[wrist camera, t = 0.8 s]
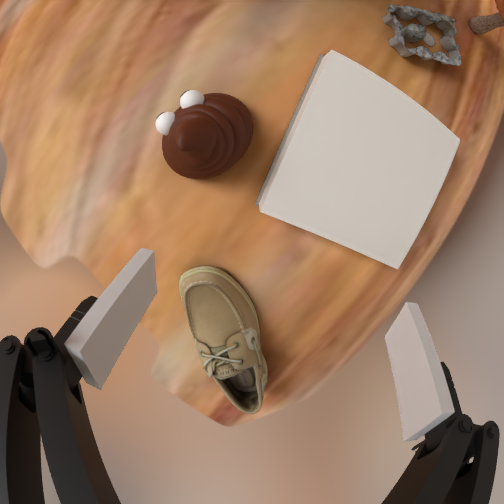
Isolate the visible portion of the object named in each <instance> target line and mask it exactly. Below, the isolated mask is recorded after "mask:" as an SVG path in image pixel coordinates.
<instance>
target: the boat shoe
mask: <svg viewBox="0 0 504 504" xmlns="http://www.w3.org/2000/svg"><path fill="white" fill-rule="evenodd" d="M179 290H180V296H181V300H182V303H183V306H184V310H185V312H186V315H187V318H188V322H189V326H190V329H191V332H192V334H193V337H194V341H195V344H196V348H197V351H198V354H199V356H200V358H201V361H202V363H203V369H205V371H206V373H207V375H208V377H213V378H214V380H215V381H216V383H217V384H218V386H219V387H220V388H221V390H222V391H223V392H224V393H225V395H226V396H227V398H228V399H229V400H230V401H231V402H232V404H233V405H234V406H235V407H236V408H237V409H239V410H240V411H242V412H244V413H247V414H254V413H257V412H258V411H259V410H260V408H261V406H262V401H263V397H264V389H265V386H266V384H267V373H268V370H267V364H266V360H265V358H264V355H263V353H262V350H261V343H260V329H259V323H258V317H257V313H256V310H255V307H254V305H253V303H252V301H251V299H250V298H249V296H248V295H247V293H246V292H245V291H244V289H243V288H242V287H241V286H240V285H239V284H238V283H237V282H236V281H235V280H234V279H233V278H232V277H231V276H230V275H228V274H227V273H226V272H224V271H223V270H221V269H219V268H216V267H213V266H198V267H194V268H191V269H189V270H187V271H186V272H185V273H183V275H182V276H181V278H180V282H179Z"/></svg>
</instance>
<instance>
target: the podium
mask: <svg viewBox="0 0 504 504" xmlns="http://www.w3.org/2000/svg"><path fill="white" fill-rule="evenodd" d="M459 142H460V139H459V138H458V137H457V136H456V135H455V134H454V133H452V132H451V131H450V130H449V129H448V128H447V127H446V126H445V125H444V124H442V123H441V122H440V121H439V120H438V119H437V118H435V117H434V116H433V115H432V114H431V113H429V112H428V111H427V110H426V109H424V108H423V107H422V106H421V105H419V104H418V103H417V102H415V101H414V100H413V99H411V98H410V97H409V96H407V95H406V94H405V93H403V92H402V91H400V90H399V89H398V88H396V87H395V86H393V85H392V84H390V83H389V82H387V81H386V80H384V79H383V78H381V77H380V76H378V75H376V74H375V73H373V72H372V71H370V70H368V69H367V68H365V67H363V66H361V65H360V64H358V63H356V62H354V61H353V60H351V59H349V58H347V57H345V56H343V55H342V54H340V53H338V52H336V51H334V50H331V51H329V52H328V53H327V54H326V55H323V54H321V55H320V56H319V59H318V61H317V63H316V65H315V67H314V70H313V72H312V74H311V76H310V78H309V81H308V83H307V85H306V87H305V89H304V92H303V94H302V96H301V98H300V101H299V103H298V105H297V107H296V110H295V112H294V114H293V116H292V119H291V121H290V123H289V125H288V128H287V130H286V132H285V135H284V137H283V139H282V141H281V144H280V146H279V148H278V151H277V153H276V155H275V158H274V160H273V162H272V164H271V167H270V169H269V171H268V174H267V176H266V178H265V181H264V183H263V185H262V188H261V190H260V192H259V195H258V197H257V200H256V202H255V205H257V206H259V208H260V212H262V213H264V214H267V215H269V216H272V217H274V218H277V219H279V220H282V221H285V222H287V223H290V224H292V225H295V226H297V227H300V228H302V229H304V230H307V231H309V232H312V233H314V234H317V235H319V236H321V237H324V238H326V239H329V240H331V241H333V242H336V243H338V244H341V245H343V246H345V247H348V248H350V249H352V250H355V251H357V252H359V253H361V254H364V255H366V256H368V257H371V258H373V259H375V260H377V261H380V262H382V263H384V264H386V265H388V266H391V267H393V268H395V269H397V270H398V268H399V266H400V265H401V263H402V261H403V260H404V258H405V256H406V255H407V253H408V251H409V249H410V248H411V246H412V244H413V242H414V241H415V239H416V237H417V235H418V233H419V231H420V229H421V228H422V226H423V224H424V222H425V220H426V218H427V216H428V214H429V212H430V210H431V208H432V206H433V204H434V202H435V200H436V198H437V195H438V193H439V191H440V189H441V187H442V184H443V182H444V180H445V178H446V175H447V173H448V171H449V168H450V166H451V163H452V161H453V158H454V156H455V153H456V150H457V148H458V145H459Z"/></svg>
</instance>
